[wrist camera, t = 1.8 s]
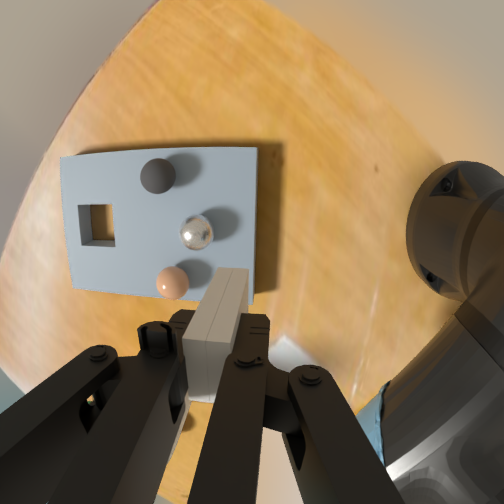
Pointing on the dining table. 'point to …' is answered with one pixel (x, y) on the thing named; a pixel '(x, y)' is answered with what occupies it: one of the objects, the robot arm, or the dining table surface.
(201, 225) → the steel ball
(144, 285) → the board
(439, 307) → the dining table surface
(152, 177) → the black ball
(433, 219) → the robot arm
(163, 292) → the terracotta ball
